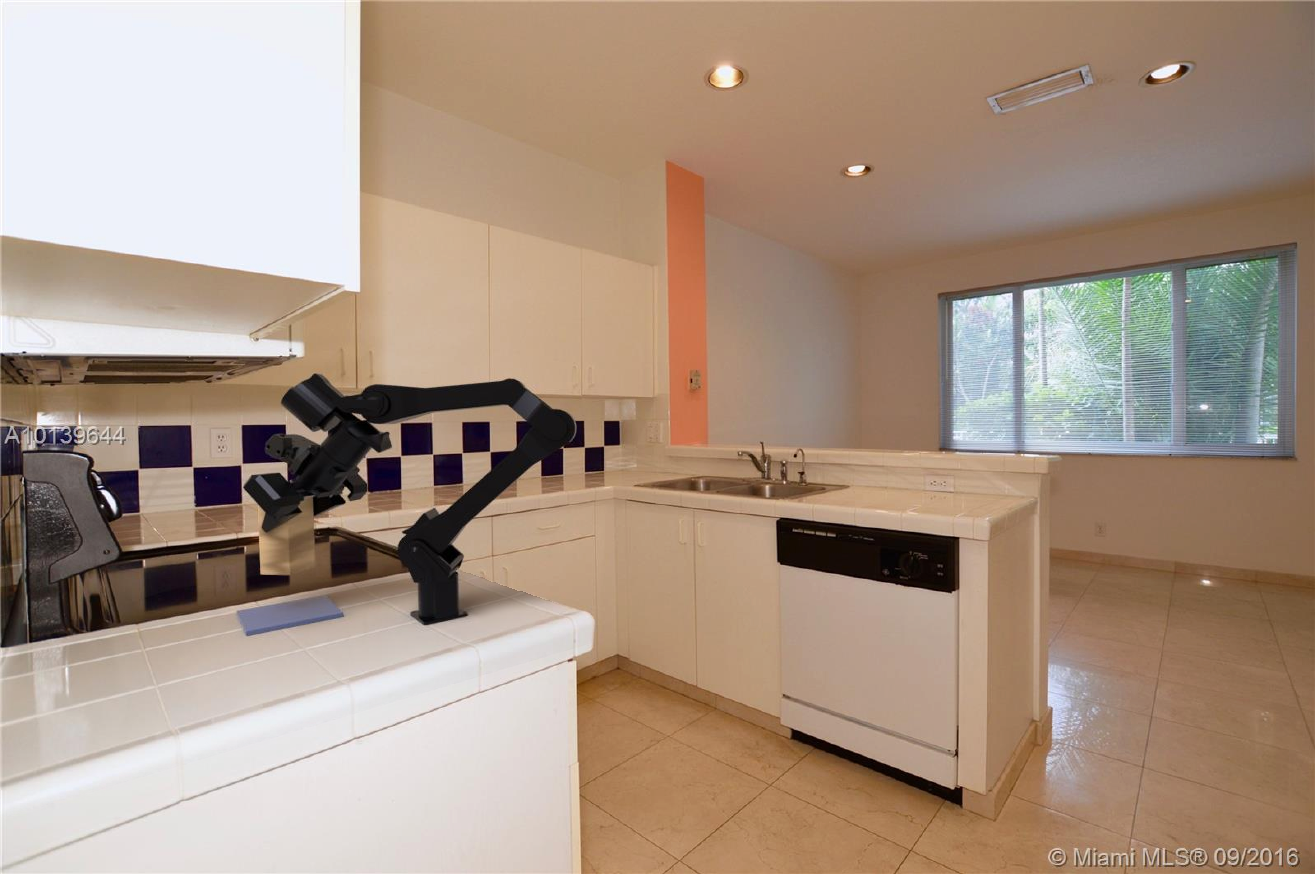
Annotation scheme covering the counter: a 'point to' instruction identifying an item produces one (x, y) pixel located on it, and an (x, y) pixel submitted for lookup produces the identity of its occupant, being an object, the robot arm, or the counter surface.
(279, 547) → the oak block
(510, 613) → the counter surface
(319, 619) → the blue tile
